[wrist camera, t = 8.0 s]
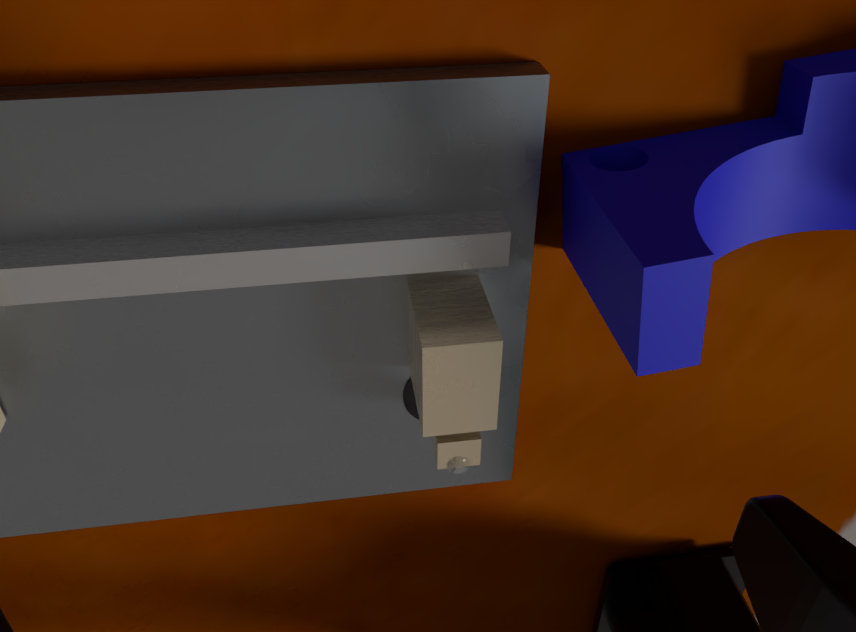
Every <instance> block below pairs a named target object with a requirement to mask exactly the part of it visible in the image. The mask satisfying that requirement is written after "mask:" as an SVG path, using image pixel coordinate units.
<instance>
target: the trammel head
mask: <svg viewBox="0 0 856 632" xmlns="http://www.w3.org/2000/svg"><path fill="white" fill-rule="evenodd" d="M5 421H6V418H5V416H4V414H3V412H2V409H1V407H0V432H1V430H2V428H3V426H4V423H5Z"/></svg>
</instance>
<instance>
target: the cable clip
mask: <svg viewBox="0 0 856 632" xmlns="http://www.w3.org/2000/svg"><path fill="white" fill-rule="evenodd" d="M562 218H563V250H564V251H565V253H566V255H567V257H568V258H569V260H570V262H571V263H572V265H573V267H574V269H575V270H576V272H577V274H578V276H579V277H580V279H581V281H582V282H583V284H584V286H585V288H586V289H587V291H588V293H589V295H590V296H591V298H592V300H593V301H594V303H595V305H596V307H597V308H598V310H599V312H600V313H601V315H602V317H603V319H604V320H605V322H606V324H607V326H608V327H609V329H610V331H611V332H612V334H613V336H614V338H615V339H616V341H617V343H618V345H619V346H620V348H621V350H622V351H623V353H624V355H625V357H626V358H627V360H628V362H629V364H630V365H631V367H632V369H633V370H634V372H635V374H636V376H637V377H638V376H643V375H648V374H653V373H658V372H664V371H669V370H674V369H679V368H684V367H689V366H695V365H700V360H701V353H702V345H703V337H704V329H705V321H706V314H707V306H708V298H709V290H710V282H711V275H712V267H713V262H714V261H716V260H717V259H719V258H720V257H722V256H724V255H725V254H727V253H729V252H731V251H733V250H735V249H737V248H740V247H742V246H744V245H747V244H750V243H753V242H756V241H759V240H762V239H766V238H770V237H774V236H778V235H784V234H789V233H796V232H804V231H815V230H839V229H849V230H856V49H850V50H845V51H839V52H833V53H827V54H822V55H816V56H810V57H804V58H799V59H793V60H787V61H785V62H784V68H783V74H782V80H781V86H780V92H779V98H778V105H777V111H776V116H772V117H767V118H761V119H755V120H750V121H744V122H738V123H733V124H727V125H722V126H716V127H710V128H705V129H699V130H693V131H688V132H682V133H676V134H671V135H665V136H660V137H654V138H648V139H643V140H637V141H631V142H626V143H620V144H615V145H609V146H603V147H598V148H592V149H586V150H581V151H575V152H569V153H564V154H562Z"/></svg>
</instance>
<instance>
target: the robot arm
mask: <svg viewBox="0 0 856 632" xmlns="http://www.w3.org/2000/svg"><path fill="white" fill-rule="evenodd" d="M732 546H733V548H725V549H718V550H710V551H702V552H694V553H687V554H679V555H671V556H664V557H656V558H648V559H640V560H633V561H625V562H618V563H615V564H613V565H611V566H610V567H609V568H608V569H607V571H606V575H605V579H604V584H603V588H602V593H601V597H600V601H599V606H598V610H597V615H596V619H595V624H594V628H593V632H856V547H855V546H854V545H853V544H851V543H850V542H849V541H847V540H846V539H844V538H843V537H842V536H840V535H839V534H837V533H836V532H835V531H833V530H832V529H830V528H829V527H828V526H826V525H825V524H823V523H822V522H821V521H819V520H818V519H816V518H815V517H814V516H812V515H811V514H809V513H808V512H807V511H805V510H804V509H802V508H801V507H800V506H798V505H797V504H795V503H794V502H793V501H791V500H790V499H788V498H786V497H784V496H781V495H768V496H760V497H753V498H751V499H749V500H748V501H747V502H746V504H745V506H744V509H743V512H742V514H741V517H740V520H739V523H738V525H737V528H736V531H735V533H734V536H733V543H732ZM745 588H746V590H747V593H748V596H749V598H750V601H751V604H752V607H753V609H754V612H755V615H756V618H757V620H758V622H757V621H756V619H755V617H754V615H753V613H752V612H751V610H750V608H749V606H748V604H747V602H746V601H745V599H744V597H743V595H742V594H743V591H744V589H745ZM758 623H759V624H758ZM0 632H13V630H12V628H11V626H10V624H9V622H8V621H7V619H6V617H5V615H4V614H3V612H2V610H1V608H0Z"/></svg>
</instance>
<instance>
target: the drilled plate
mask: <svg viewBox="0 0 856 632" xmlns="http://www.w3.org/2000/svg"><path fill="white" fill-rule="evenodd" d="M549 79H550V74H549V73H548V72H547V71H546V69H545V68H544V67H543V66H542V65H541V64H540V63H539V62H521V63H500V64H478V65H456V66H434V67H413V68H391V69H369V70H348V71H326V72H304V73H282V74H261V75H239V76H217V77H196V78H174V79H152V80H130V81H109V82H87V83H65V84H44V85H22V86H0V407H1V409H2V412H3V414H4V416H5V418H6V421H5V423H4V426H3V428H2V430H1V432H0V538H2V537H11V536H20V535H28V534H37V533H46V532H55V531H64V530H72V529H81V528H90V527H99V526H108V525H116V524H125V523H134V522H143V521H152V520H160V519H169V518H178V517H187V516H195V515H204V514H213V513H222V512H231V511H239V510H248V509H257V508H266V507H275V506H283V505H292V504H301V503H310V502H319V501H327V500H336V499H345V498H354V497H362V496H371V495H380V494H389V493H398V492H406V491H415V490H424V489H433V488H442V487H450V486H459V485H468V484H477V483H486V482H494V481H503V480H512V469H513V459H514V448H515V438H516V427H517V417H518V406H519V395H520V385H521V374H522V364H523V353H524V343H525V332H526V322H527V311H528V300H529V290H530V279H531V269H532V258H533V248H534V237H535V226H536V216H537V205H538V195H539V184H540V174H541V163H542V153H543V142H544V131H545V121H546V110H547V100H548V89H549Z"/></svg>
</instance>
